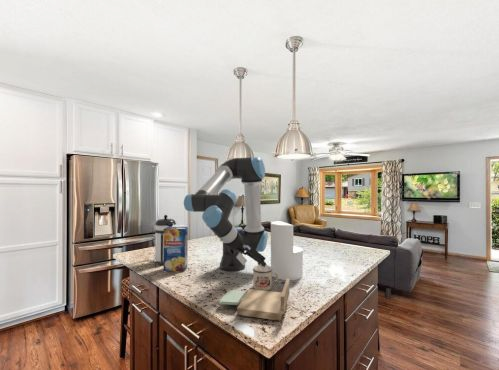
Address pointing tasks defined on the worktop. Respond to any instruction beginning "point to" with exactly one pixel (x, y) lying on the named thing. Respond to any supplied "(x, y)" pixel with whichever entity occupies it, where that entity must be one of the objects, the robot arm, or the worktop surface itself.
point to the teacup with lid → (263, 278)
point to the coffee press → (161, 237)
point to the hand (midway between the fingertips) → (255, 265)
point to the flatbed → (264, 303)
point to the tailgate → (232, 297)
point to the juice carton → (175, 248)
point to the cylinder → (285, 252)
